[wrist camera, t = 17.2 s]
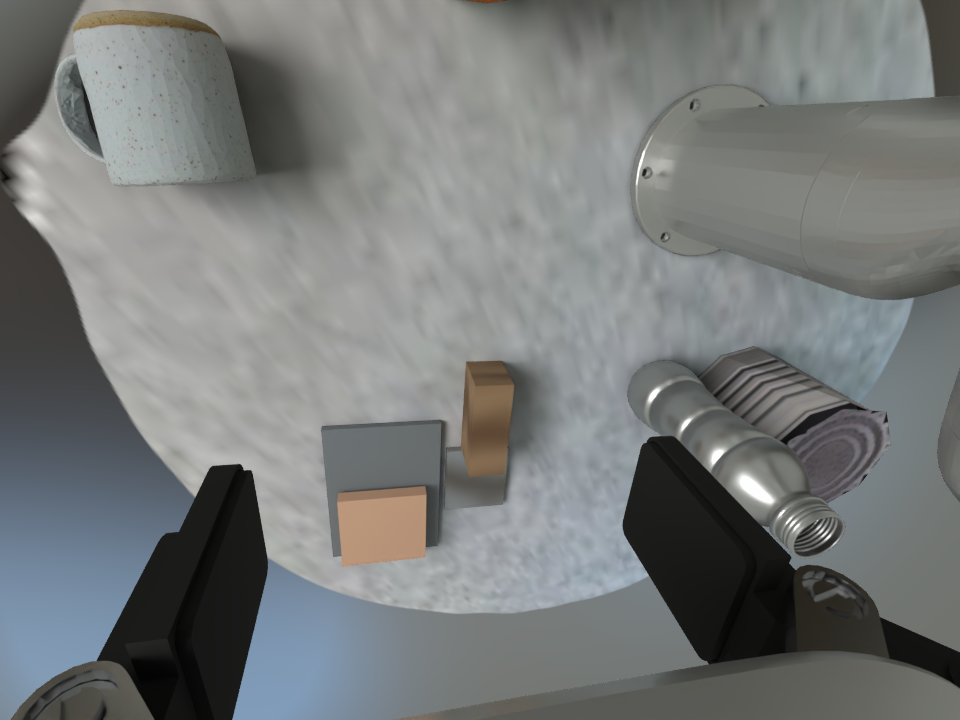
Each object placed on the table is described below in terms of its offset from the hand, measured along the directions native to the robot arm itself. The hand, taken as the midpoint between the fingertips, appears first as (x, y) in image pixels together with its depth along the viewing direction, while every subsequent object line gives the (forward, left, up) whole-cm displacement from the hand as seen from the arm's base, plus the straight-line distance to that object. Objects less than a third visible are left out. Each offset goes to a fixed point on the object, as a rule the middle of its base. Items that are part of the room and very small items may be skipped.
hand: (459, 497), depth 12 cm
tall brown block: (-7, +18, -28) cm, 34 cm away
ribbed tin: (-34, +15, -29) cm, 47 cm away
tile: (+2, +23, -27) cm, 35 cm away
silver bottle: (-24, +13, -28) cm, 39 cm away
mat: (+2, +24, -28) cm, 37 cm away
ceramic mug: (+14, -8, -29) cm, 33 cm away
